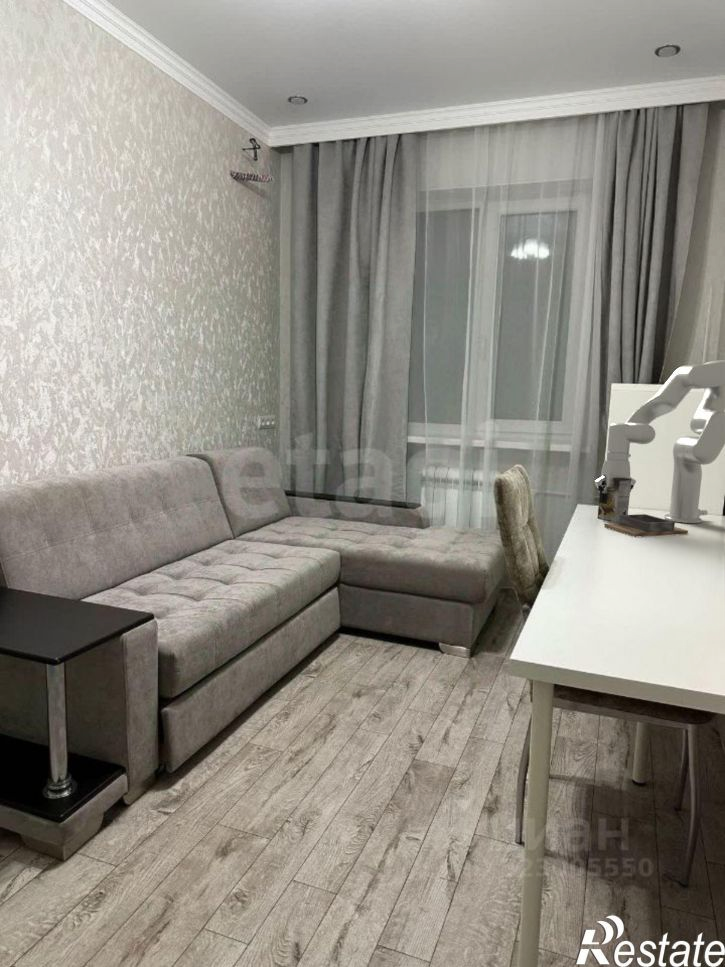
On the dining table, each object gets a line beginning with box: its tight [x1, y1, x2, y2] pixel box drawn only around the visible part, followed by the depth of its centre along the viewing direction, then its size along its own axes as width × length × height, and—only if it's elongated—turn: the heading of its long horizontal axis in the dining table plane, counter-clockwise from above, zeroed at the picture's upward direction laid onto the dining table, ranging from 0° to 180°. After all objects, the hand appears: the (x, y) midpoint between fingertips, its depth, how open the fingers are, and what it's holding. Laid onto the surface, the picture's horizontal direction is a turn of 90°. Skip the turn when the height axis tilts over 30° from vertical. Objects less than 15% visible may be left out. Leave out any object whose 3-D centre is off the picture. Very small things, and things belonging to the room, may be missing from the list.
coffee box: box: [597, 478, 631, 523], centre depth 242 cm, size 9×6×16 cm
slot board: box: [604, 513, 689, 538], centre depth 225 cm, size 22×15×4 cm
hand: (613, 502), depth 242 cm, fingers open, 9 cm apart
